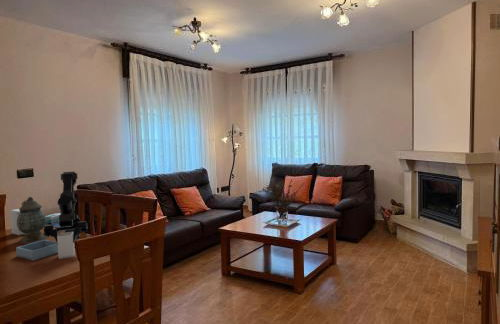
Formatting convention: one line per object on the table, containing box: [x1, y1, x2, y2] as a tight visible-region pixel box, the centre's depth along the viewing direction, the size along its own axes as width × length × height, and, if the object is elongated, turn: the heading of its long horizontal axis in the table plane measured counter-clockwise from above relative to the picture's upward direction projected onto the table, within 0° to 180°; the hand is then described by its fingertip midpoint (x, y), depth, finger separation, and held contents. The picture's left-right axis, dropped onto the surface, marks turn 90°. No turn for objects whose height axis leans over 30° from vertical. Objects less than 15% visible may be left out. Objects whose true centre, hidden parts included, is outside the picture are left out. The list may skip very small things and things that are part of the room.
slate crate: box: [15, 239, 58, 262], centre depth 164 cm, size 14×14×4 cm
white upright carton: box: [57, 231, 76, 260], centre depth 160 cm, size 6×6×11 cm
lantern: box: [17, 196, 48, 244], centre depth 189 cm, size 14×14×25 cm
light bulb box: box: [43, 212, 61, 235], centre depth 206 cm, size 11×7×11 cm, turn 168°
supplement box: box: [10, 208, 25, 236], centre depth 205 cm, size 9×9×15 cm
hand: (65, 243), depth 159 cm, fingers closed on white upright carton, 6 cm apart
